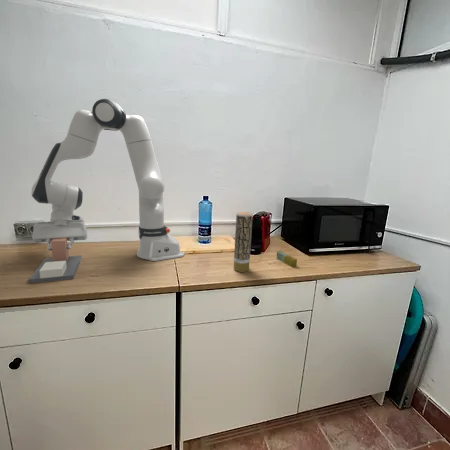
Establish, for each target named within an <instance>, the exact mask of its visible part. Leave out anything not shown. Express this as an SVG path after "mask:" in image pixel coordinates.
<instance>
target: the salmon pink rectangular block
mask: <svg viewBox="0 0 450 450" xmlns="http://www.w3.org/2000/svg"><path fill="white" fill-rule="evenodd" d="M66 244H68V241H67V238H60V239H53V240H52V241H51V244H50V245H51V247H52V250H51V254H52V258H53V261H58V260H66V261H67V260H68V258H69V249H66Z"/></svg>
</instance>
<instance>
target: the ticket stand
mask: <svg viewBox="0 0 450 450" xmlns="http://www.w3.org/2000/svg"><path fill="white" fill-rule="evenodd" d="M81 261H82V255H71V256H69V258H68V260H67V261H66V260H58V261H53V257H45V258H44V259H43V260H42V261H41V263H40V264H39V266H38V267H37V268H36V270H35V271H34V272H33V273H32V274H31V276H30V277H29V278H28V283H29V284H36V283H44V282H45V283H47V282H57V281H65V280H74V279H75V276H76V274H77V271H78V269H79V267H80V264H81Z"/></svg>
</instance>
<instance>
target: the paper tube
mask: <svg viewBox="0 0 450 450" xmlns="http://www.w3.org/2000/svg"><path fill="white" fill-rule="evenodd" d="M235 216H236V217H235V234H234V250H233V251H234V253H233V254H234V255H233V269H234V270H235V271H236V272H240V273H246V272H248V271H249V269H250V261H251V260H250V259H251V247H252V246H251V245H252V232H253V231H252V230H253V218H254V215H253V212H252V213H251V212H246V211H238V212H236V215H235Z"/></svg>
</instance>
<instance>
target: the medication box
mask: <svg viewBox="0 0 450 450" xmlns="http://www.w3.org/2000/svg"><path fill="white" fill-rule="evenodd" d="M276 260H278V261H280V262H282V263H283V264H286V265H287V266H289V267H290V268H296V267H297V263H298V259H297V258H295V257H293V256H292V255H289V254H287V253H285V252H283V251H282V250H279V251H276Z"/></svg>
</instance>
